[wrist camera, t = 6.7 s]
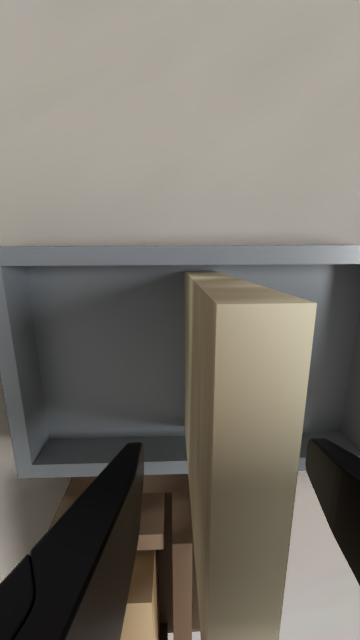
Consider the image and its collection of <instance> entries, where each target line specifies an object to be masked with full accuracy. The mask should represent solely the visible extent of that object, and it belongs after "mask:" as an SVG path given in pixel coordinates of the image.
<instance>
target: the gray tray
mask: <svg viewBox="0 0 360 640" xmlns="http://www.w3.org/2000/svg"><path fill="white" fill-rule="evenodd" d="M184 271H216V272H220V273H223V274H226V275H229V276H232V277H235V278H239V279H242V280H245V281H248V282H251V283H254V284H258V285H261V286H264V287H267V288H270V289H274V290H277V291H280V292H283V293H286V294H289V295H293V296H296V297H299V298H302V299H305V300H309V301H312V302H315V303H317V309H316V317H315V326H314V335H313V344H312V352H311V361H310V370H309V379H308V387H307V396H306V405H305V414H304V422H303V431H302V440H301V448H300V457H299V466H298V471H303V470H306V466H305V461H306V453H307V444H308V441H309V439H310V438H326V439H328V440H330V441H331V442H333V443H335V444H337V445H338V446H340V447H342V448H344V449H346V450H347V451H349V452H351V453H353V454H355V455H356V456H358V457H360V245H296V246H24V247H0V376H1V381H2V387H3V393H4V399H5V405H6V411H7V417H8V422H9V428H10V434H11V440H12V446H13V452H14V458H15V463H16V469H17V475H18V479H23V478H58V477H93V476H98V475H99V474H100V473H101V472H102V471H103V469H104V468H105V467H106V466H107V465H108V464H109V463H110V462H111V461H112V459H113V458H114V457H115V456H116V455H117V454H118V453H119V452H120V451H121V449H122V448H123V447H124V446H125V445H126V444H127V443H129V442H142V444H143V452H144V475H163V474H188V464H187V452H186V439H185V310H184Z"/></svg>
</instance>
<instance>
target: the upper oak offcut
mask: <svg viewBox="0 0 360 640" xmlns="http://www.w3.org/2000/svg"><path fill="white" fill-rule="evenodd" d="M120 640H158V631H157V601H156V572H155V551H141V552H136V557H135V562H134V568H133V573H132V579H131V584H130V590H129V595H128V600H127V606H126V611H125V617H124V622H123V627H122V633H121V638H120Z"/></svg>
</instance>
